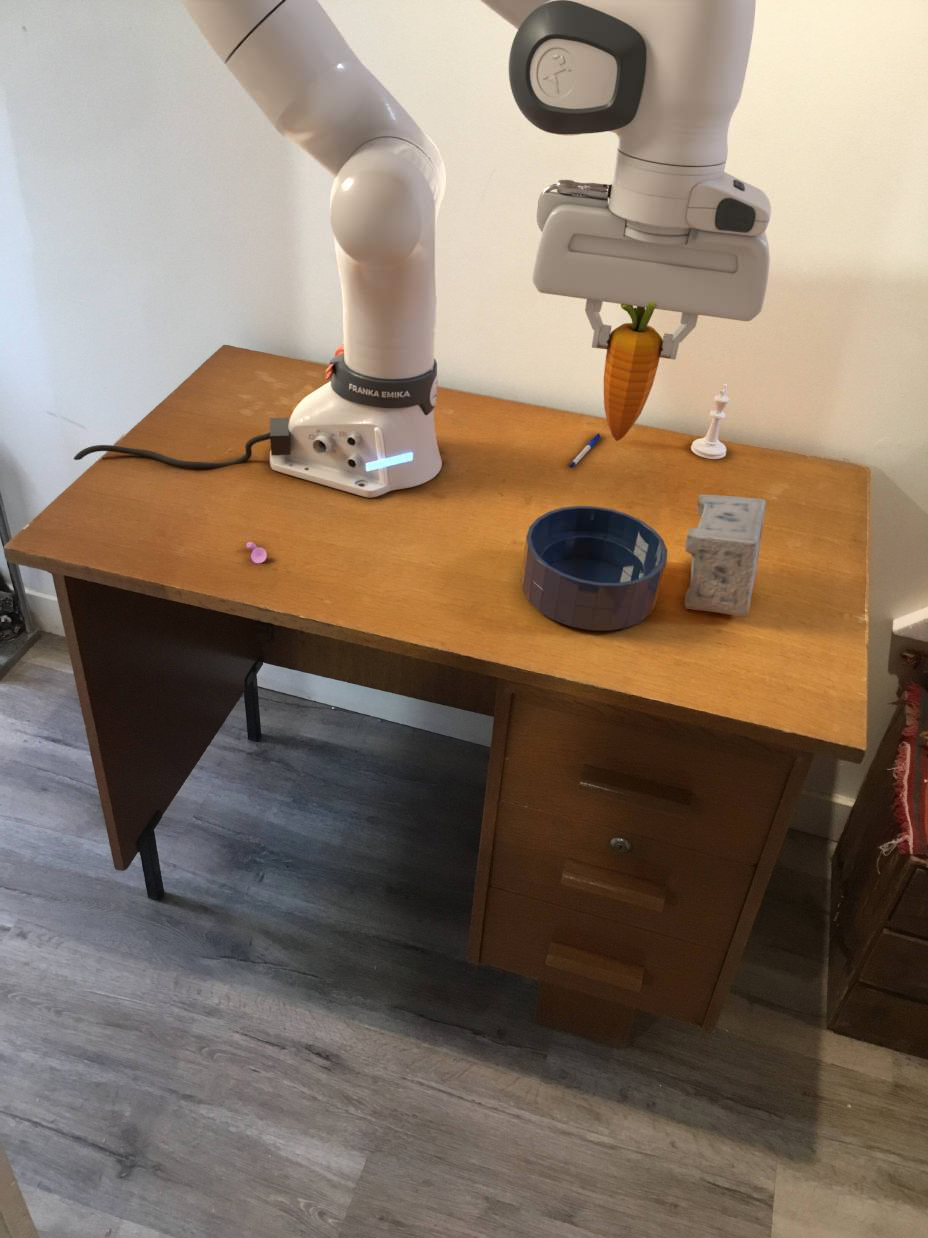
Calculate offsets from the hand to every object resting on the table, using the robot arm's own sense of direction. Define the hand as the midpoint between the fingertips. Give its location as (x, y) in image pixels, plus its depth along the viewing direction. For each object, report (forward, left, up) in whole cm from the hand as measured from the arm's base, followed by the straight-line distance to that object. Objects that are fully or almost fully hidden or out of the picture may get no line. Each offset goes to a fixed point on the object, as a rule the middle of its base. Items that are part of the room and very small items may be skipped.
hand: (634, 351), depth 84 cm
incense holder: (+14, +4, -28) cm, 31 cm away
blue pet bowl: (0, -1, -28) cm, 28 cm away
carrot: (0, 0, -9) cm, 9 cm away
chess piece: (+13, +38, -28) cm, 49 cm away
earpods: (-37, -5, -28) cm, 47 cm away
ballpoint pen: (-4, +32, -28) cm, 43 cm away
